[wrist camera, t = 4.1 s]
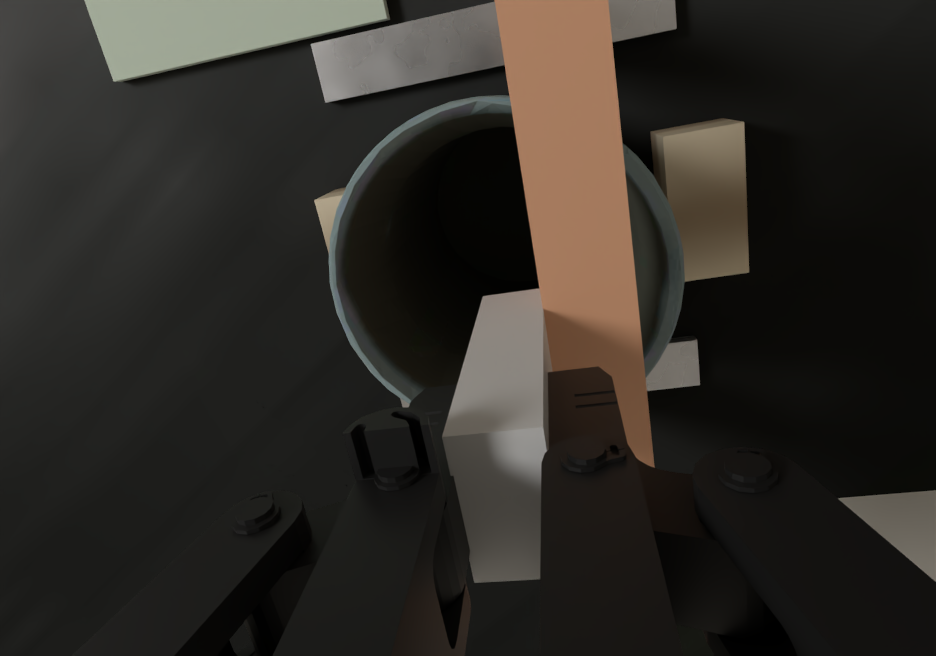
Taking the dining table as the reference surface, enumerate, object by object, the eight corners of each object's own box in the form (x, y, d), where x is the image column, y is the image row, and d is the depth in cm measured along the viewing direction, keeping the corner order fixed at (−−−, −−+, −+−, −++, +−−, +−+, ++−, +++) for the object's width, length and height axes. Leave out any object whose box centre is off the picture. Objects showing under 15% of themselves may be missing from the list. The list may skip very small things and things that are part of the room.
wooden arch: (515, 1, 25) (477, -109, 11) (565, -10, 24) (594, -140, 10) (573, 398, 31) (597, 658, 17) (613, 394, 30) (673, 655, 16)
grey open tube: (639, 292, 29) (693, 426, 18) (433, 317, 31) (370, 453, 20) (621, 63, 26) (674, 60, 15) (389, 107, 27) (282, 133, 16)
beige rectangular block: (336, 189, 29) (314, 200, 26) (722, 118, 26) (744, 121, 23) (366, 307, 31) (349, 329, 28) (728, 254, 28) (749, 272, 25)
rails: (315, 44, 27) (310, 44, 26) (669, -37, 24) (672, -40, 24) (407, 412, 33) (405, 418, 33) (697, 379, 31) (700, 385, 30)
